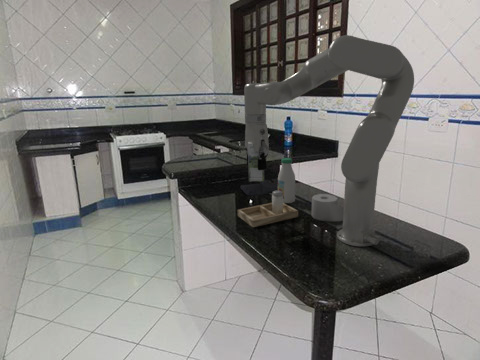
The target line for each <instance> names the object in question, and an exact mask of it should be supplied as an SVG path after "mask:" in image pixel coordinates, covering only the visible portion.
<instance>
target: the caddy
mask: <svg viewBox="0 0 480 360" xmlns="http://www.w3.org/2000/svg"><path fill="white" fill-rule="evenodd" d="M236 212H237V217H238V218H240V220H243V221H244V222H245V223H246V224H248V225H249V226H250V227H252V228H257V227H261V226H265V225H268V224H269V225H271V224H274V223H278V222H282V221H287V220H291V219H294V218H298V217H299V210H297V209H296V208H294V207H293V206H290V205H288V204H287V203H283V213H281V214H274V213H273V212H272V202H268V203H264V204H260V205H259V204H258V205H253V206H249V207H244V208H240V209H237V211H236Z"/></svg>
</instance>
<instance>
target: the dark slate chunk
mask: <svg viewBox="0 0 480 360" xmlns="http://www.w3.org/2000/svg"><path fill="white" fill-rule="evenodd" d="M240 189H241V191H243V193H244V194H245V195H246V196H248V197H256V196H264V194H265V195H270V194H269V193H272V194H273V191H278V177H277V178H271V179H270V180H269V179H264V181H261V182H259V183H251V184H241V185H240Z"/></svg>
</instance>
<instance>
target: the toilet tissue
mask: <svg viewBox="0 0 480 360" xmlns="http://www.w3.org/2000/svg"><path fill="white" fill-rule="evenodd" d="M338 202H339V201H338V197H337V196H335V195H332V194H328V193H326V194H325V193H319V194H314V195H313V196H312V197H311V213H310V214H311V217H312V218H313V219H314V220H316V221H317V220H318V221H322V222H343V210H344V207H342V206H339V205H338Z"/></svg>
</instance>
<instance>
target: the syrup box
mask: <svg viewBox="0 0 480 360" xmlns="http://www.w3.org/2000/svg"><path fill="white" fill-rule="evenodd" d="M259 150H264V149H263V148H262V146H261V147H260V149H259ZM262 153H263V152H262ZM262 153H260V154H262ZM258 159H259V158H258V154H257V152H255V151H254V148H253V144H252V143H250V142H248V164H249V166H248V182H250V183H251V182H256V183H258V182H259V183H260V182H261V181H264V180H265V170H258Z"/></svg>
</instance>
